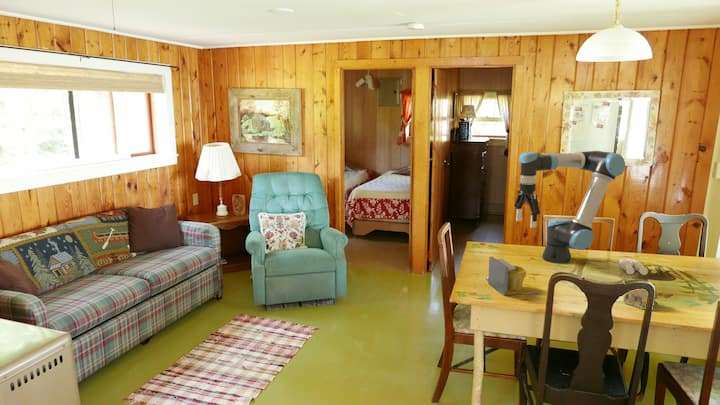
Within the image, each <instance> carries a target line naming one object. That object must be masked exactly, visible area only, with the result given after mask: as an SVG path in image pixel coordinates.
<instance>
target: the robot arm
mask: <svg viewBox="0 0 720 405" xmlns="http://www.w3.org/2000/svg"><path fill="white" fill-rule="evenodd" d="M518 162H519V165H520V176H519V178H520V180H519V183H520V184H519V190H518V191H517V195H516V199H515V202H514V207H515V209H516V217H515V219H516V222H522V221H523V207H524V204H525V202H526V203H527V204H528V206H529V210H530V212H531V214H530V229H532V228H537V220H538V215H541V211H540V205H539V202H538V195H537V194H534V192H535V191H536V189H537V188H536V186H537V185H536V183H537V172H538V171H539V172H541V171H553V170H556V169H558V168H574V169H576V170H582V171H583V170H584V171H588V172H590V173H591V175H592V178H591V180H590V183H589V186H588V188H587V190H586V192H585V194H584V197H583V199H582V202H581V203H580V206H579V208H578V210H577V212H576V214H575V217H574V218H572V219H567V218H553V219H550V220H548V221H547V227H546V228H547V231H546V232H547V233H546V244H545V245H546V246H545V248H544V250H543V253H542V260H544V261H546V262H550V263H554V264H566V263H571V261H572V255H571V251H570V248H571V249H573V250H578V251H582V250H583V251H584V250H585V249H588V248H589V247H590V246H591V245H592V243H593V241H594V234H593V232H592V231H593V229H594V228H593V226H592V224H593V221H594V219H595V217H596V215H597V212H598V210H599V208H600V206H601V203H602V201H603V199H604V197H605V194H606V192H607V190H608V187H609V185H610V183H613V182H614V181H615V180H616V177H620V176H621V175H622V174H623V173H624V171H625V168H626V161H625V159H624V157H623V156H622V155H621V154H620V153H616V152H609V151H601V150H592V151H591V150H588V151H577V152H575V153H564V152H563V153H557V152H556V153H552V152H551V153H549V152H545V153H543V152H532V151H528V152H522V153H521V154H520V155H519V157H518Z"/></svg>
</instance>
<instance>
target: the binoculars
mask: <svg viewBox="0 0 720 405" xmlns="http://www.w3.org/2000/svg"><path fill="white" fill-rule="evenodd" d="M619 266H620V267H621V268H622V270H624V271H625V270H626V271H625V272H626V273H627V274H628V275H633V274H634V273H635V271H636V272H639V274H641V275H642V276H646V275H647V274H648V273H649V269H648V268H647V267H645V266H644V265H643V264H642V263H641V262H640V261H639V260H637V259H631V258H626V259H625V258H624V259H621V258H620V259H619Z"/></svg>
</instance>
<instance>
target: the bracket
mask: <svg viewBox="0 0 720 405" xmlns="http://www.w3.org/2000/svg"><path fill="white" fill-rule="evenodd" d="M488 259H489V261H488V277H487V278H488V280H487V281H488V282H487V283H488V285H489V286H490V287H492V288H493V289H494V290H495V291H496V292H498V293H499V294H500V295H502V296H503V297H514V296H515V297H516V296H523V295H534V294H535V295H536V294H540V292H539V291H531V292H530V291H529V292H520V293H511V294H510V293H509V294H508V288H507V283H508V270H513V269H515V267H514V266H513V265H512V264H511V263H510V262H508V261H507V260H505V259H504V258H495V257H494V256H489V258H488Z"/></svg>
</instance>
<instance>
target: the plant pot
mask: <svg viewBox="0 0 720 405" xmlns="http://www.w3.org/2000/svg"><path fill="white" fill-rule="evenodd" d="M513 266H514V267H515V269H513V270H508V283H507V290H510V291H520V290H521V289H522V286H523V282H524V280H525V278H526V276H527V269H526V268H525V267H523V266H519V265H513Z"/></svg>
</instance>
